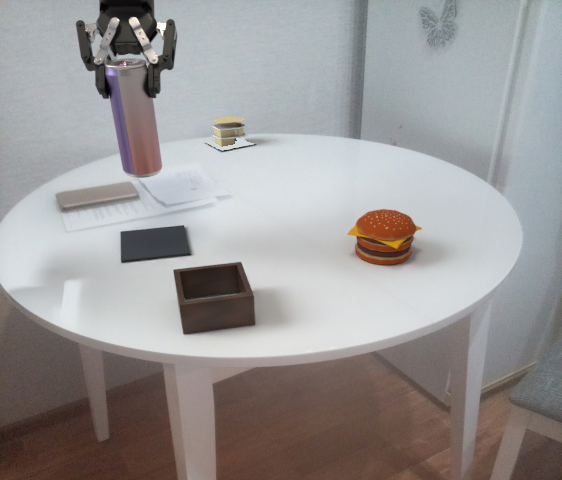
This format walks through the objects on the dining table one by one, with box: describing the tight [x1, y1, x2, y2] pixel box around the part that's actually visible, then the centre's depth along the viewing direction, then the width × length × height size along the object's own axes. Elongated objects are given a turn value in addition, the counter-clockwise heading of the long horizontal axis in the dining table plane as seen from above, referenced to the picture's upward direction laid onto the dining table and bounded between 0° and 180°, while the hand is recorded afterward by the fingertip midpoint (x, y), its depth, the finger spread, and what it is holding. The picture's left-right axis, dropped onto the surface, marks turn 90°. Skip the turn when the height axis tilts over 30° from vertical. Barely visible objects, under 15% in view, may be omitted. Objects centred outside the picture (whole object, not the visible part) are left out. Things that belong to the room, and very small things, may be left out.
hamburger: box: [346, 208, 423, 266], centre depth 89 cm, size 9×10×7 cm
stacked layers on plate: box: [211, 115, 246, 153], centre depth 134 cm, size 10×9×6 cm
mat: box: [119, 224, 192, 263], centre depth 94 cm, size 11×11×1 cm
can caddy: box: [172, 261, 256, 335], centre depth 76 cm, size 10×10×4 cm
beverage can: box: [105, 58, 163, 179], centre depth 81 cm, size 6×6×15 cm
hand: (128, 94), depth 78 cm, fingers closed on beverage can, 6 cm apart
